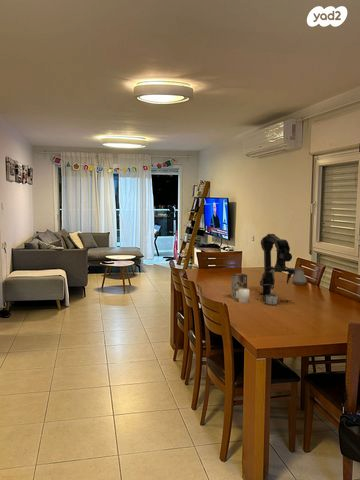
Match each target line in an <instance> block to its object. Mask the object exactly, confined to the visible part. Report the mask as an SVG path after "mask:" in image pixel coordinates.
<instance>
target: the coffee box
mask: <svg viewBox="0 0 360 480" xmlns="http://www.w3.org/2000/svg"><path fill="white" fill-rule="evenodd" d="M240 288H246V289H248V275H247V274H246V273H231V288H230V289H231V290H230V291H231V292H230V294H231V296H230V297H231V298H232V299H235V300H238V298H236V291H239V289H240Z"/></svg>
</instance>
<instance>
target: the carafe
mask: <svg viewBox="0 0 360 480" xmlns="http://www.w3.org/2000/svg"><path fill="white" fill-rule="evenodd" d="M270 295H271V294H270ZM270 295H262V303H265V305H267V306H277V305H278V304H279V303H278V302H279V295H276V294H273V296H276V297H269V296H270Z"/></svg>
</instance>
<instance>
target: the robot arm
mask: <svg viewBox="0 0 360 480" xmlns="http://www.w3.org/2000/svg"><path fill="white" fill-rule="evenodd" d="M260 246H261V249H262V250H263V264H264V270H263V271H264V272H263V273H262V275H261V279H260V281H259V286H261V287H262V293H261V294H260V295H262V296H263V295H264V296H266V295H270V294H271V288H270V286H271V285H274V286H275V273H282V272H283V273H285V272H286V273H287V279H286V284H289V283H290V282H289V281H290V279H291V277H292V276H294V275H295V273H296V267H295V268H294V267H288V268H289V269H286V267H287V266H286V265H287V264H286V263H287V262H290V261H292V258H293V255H292V253H290V251H291V247H290V245H289V242H288V240H287V239H283V238H282V239H281V238H280V237H279V236H277V235H276V234H274V233H267V234H266V235H265V236H264V237H262V238H261V239H260ZM274 247H275V249H276V250H275V251H276V261H275V265H274V266H272V250H273V248H274Z"/></svg>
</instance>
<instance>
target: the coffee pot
mask: <svg viewBox="0 0 360 480" xmlns="http://www.w3.org/2000/svg"><path fill="white" fill-rule="evenodd" d="M289 268H290V267H288V266H286V269H289ZM295 269H296V273H295V274H293V277H292V280H291V282H292V283H293V284H294V285H297V284H298V285H299V286H302V285H303V284H304V285H305V284H306V283H307V281H308V279H307V277H306V275H305V273H304V269H305V268H304V267H300V266H299V267H298V266H297V267H295Z"/></svg>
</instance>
